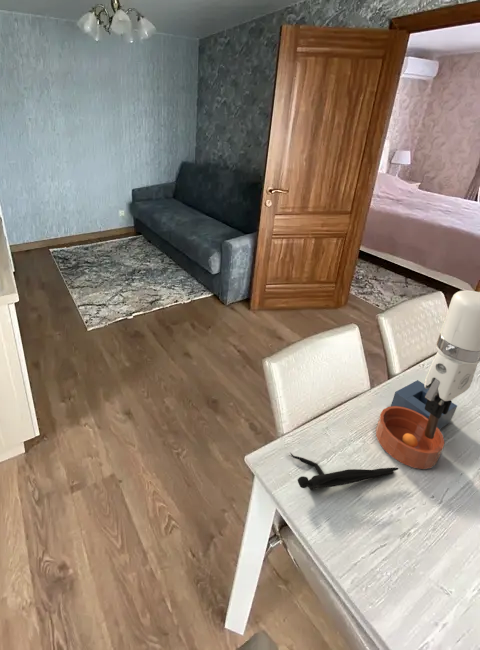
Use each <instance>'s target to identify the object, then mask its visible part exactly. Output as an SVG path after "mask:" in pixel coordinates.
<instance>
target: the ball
mask: <svg viewBox="0 0 480 650" xmlns="http://www.w3.org/2000/svg"><path fill="white" fill-rule="evenodd" d="M402 440H403V443H405V444H406V445H408V446H411V447H413V448H415V447H416V446H417V444H418V441H417V439H416V437H415V436H414V435H412V434H409V433H407V434H404V435H403V437H402Z"/></svg>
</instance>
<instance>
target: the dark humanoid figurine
mask: <svg viewBox="0 0 480 650" xmlns="http://www.w3.org/2000/svg"><path fill="white" fill-rule="evenodd" d="M288 456H289V457H291V458H293V459H296V460H298V461H300V462H301V463H303V464H306V465H308V466H310V467H313V468H314V470H315V471H316V472H317V474H315V475H313V476H312V477H311V478H310V479H309V477H307V476H302V475H301V476H300V477H298V478H297V483H298V485H299V488H301V489H306V488H308V490H310V491H314V490H316V489H324V488H332V487H333V488H334V487H339V486H340V487H341V486H344V485H349V484H354V483H359V482H362V481H366V480H367V481H368V480H372V479H379V478H383V477H387V476H389V475H392V474H394V472H395V471H398V470H399V467H383V468H380V467H379V468H375V469H374V468H373V469H361V468H360V469H359V468H357V469H356V468H352V469H351V468H349V469H345V470H340V471H334V472H329V473H325V472H324V471H323V470H322V469H321V467H320V466H319V465H318V463H316V462H314V461H312V460H310V459H308V458H304V457H301V456H298V455H297V456H296V455H294V454H293V453H292V452H289V454H288Z"/></svg>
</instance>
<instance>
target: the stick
mask: <svg viewBox="0 0 480 650" xmlns="http://www.w3.org/2000/svg"><path fill="white" fill-rule="evenodd" d="M436 395H437V396H438V397H439V395H438V394H436ZM438 421H439V419H438V418H436V417H435V416H433V415H432V414H431V413H430V416H429V419H428V423H427V426H426V430H425V433H424V435H425V436H426V437H427V438H429V439H433V438H434V435H435V431H436V428H437V424H438Z"/></svg>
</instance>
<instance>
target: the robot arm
mask: <svg viewBox="0 0 480 650" xmlns="http://www.w3.org/2000/svg"><path fill="white" fill-rule="evenodd" d="M435 348H436V350H437V352H436V354H435V356H434V358H433V360H432V362H431V364H430V366H429V369H428V372H427V374H426V377H425V380H424V383H423V384H424V386H425V389H428V388H429V390H428V392H427V394H426V395H425V398H426V399H428V400H427V403H426V405H425V410H426V411H428V412H429V413H431V414H432V415H433V416H435V417H436V418H438V419H439V418H441V415H442V413H443V414H447V412H448V410H449V407H450V405H451V402H452V403H453V401H452V400H453V399H455V398H457V397H458V396H460V395H462V394H463V393H465V392H466V391H468V390H469V389H470V387H471V385H472V383H473V379H474V378H475V377H474V376H475V373H476V371H477V368H478V364H479V363H480V291H475V290H467V289H464V290H459V291H457V292H455V293H454V294H453V295H452V297H451V300H450V303H449V306H448V308H447V312H446V314H445V317H444V321H443V323H442V325H441V329H440V333H439V335H438V337H437V341H436V344H435ZM436 394H438V395H439V397H438V396H437V395H436Z"/></svg>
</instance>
